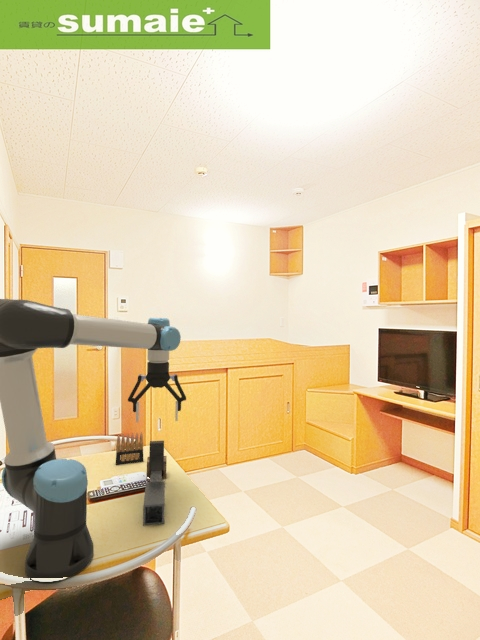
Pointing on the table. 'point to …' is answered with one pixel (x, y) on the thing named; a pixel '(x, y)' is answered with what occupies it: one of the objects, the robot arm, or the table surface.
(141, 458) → the ammunition clip
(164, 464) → the brown block
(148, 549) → the table surface
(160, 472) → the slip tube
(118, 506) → the table surface
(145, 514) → the sleeve
